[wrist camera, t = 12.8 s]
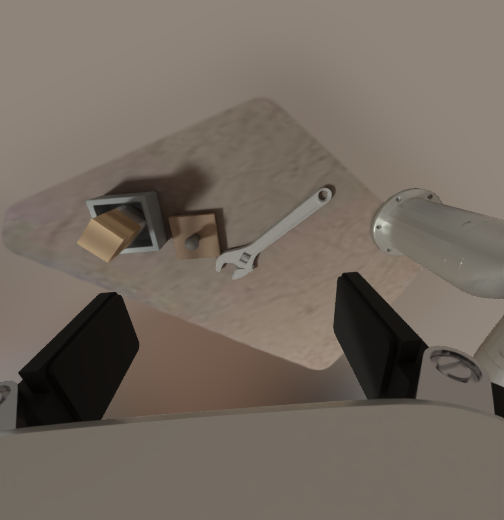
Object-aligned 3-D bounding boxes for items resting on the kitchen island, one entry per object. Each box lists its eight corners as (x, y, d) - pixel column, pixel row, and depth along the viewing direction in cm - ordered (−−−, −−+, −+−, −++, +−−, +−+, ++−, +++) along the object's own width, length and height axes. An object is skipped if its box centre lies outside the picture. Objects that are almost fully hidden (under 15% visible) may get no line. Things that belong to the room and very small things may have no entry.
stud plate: (215, 212, 42) (211, 220, 37) (220, 253, 45) (218, 265, 40) (170, 215, 42) (160, 224, 37) (179, 256, 45) (171, 269, 40)
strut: (130, 201, 40) (91, 218, 30) (153, 218, 41) (123, 240, 31) (117, 221, 41) (76, 243, 31) (140, 236, 42) (107, 262, 32)
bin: (155, 190, 40) (144, 195, 35) (168, 240, 44) (159, 250, 39) (103, 195, 40) (85, 200, 35) (120, 244, 44) (105, 254, 39)
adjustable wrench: (324, 182, 41) (327, 184, 39) (339, 212, 43) (343, 214, 41) (211, 258, 46) (210, 262, 44) (231, 281, 48) (230, 286, 47)
